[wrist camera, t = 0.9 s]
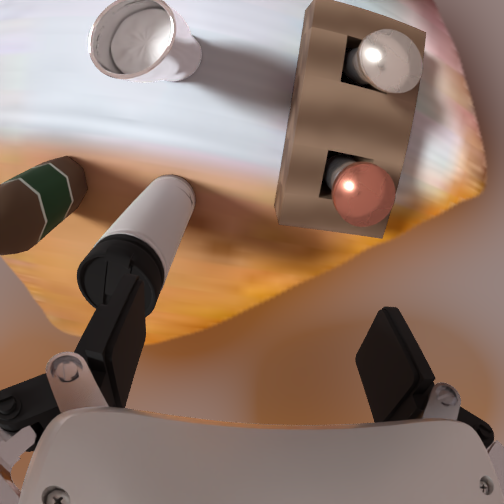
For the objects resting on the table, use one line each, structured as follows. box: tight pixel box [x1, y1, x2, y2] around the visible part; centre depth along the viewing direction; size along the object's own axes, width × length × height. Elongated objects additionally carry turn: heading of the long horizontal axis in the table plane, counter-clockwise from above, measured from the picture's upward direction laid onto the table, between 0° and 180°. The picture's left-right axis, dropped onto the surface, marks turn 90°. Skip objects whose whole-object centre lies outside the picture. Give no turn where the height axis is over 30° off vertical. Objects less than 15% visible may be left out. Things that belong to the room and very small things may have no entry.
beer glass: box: [88, 0, 202, 83], centre depth 23 cm, size 7×7×15 cm
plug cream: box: [343, 29, 423, 93], centre depth 24 cm, size 6×6×8 cm
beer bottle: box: [0, 156, 87, 255], centre depth 25 cm, size 8×8×24 cm
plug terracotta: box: [323, 155, 395, 227], centre depth 29 cm, size 6×6×8 cm
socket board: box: [274, 0, 426, 238], centre depth 31 cm, size 24×12×6 cm, turn 172°
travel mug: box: [77, 175, 196, 317], centre depth 29 cm, size 6×7×20 cm
